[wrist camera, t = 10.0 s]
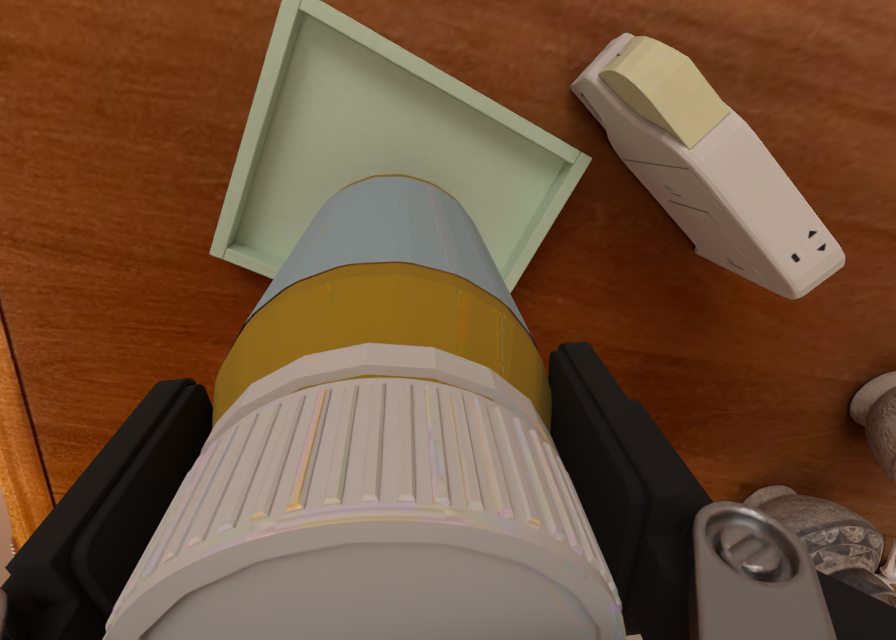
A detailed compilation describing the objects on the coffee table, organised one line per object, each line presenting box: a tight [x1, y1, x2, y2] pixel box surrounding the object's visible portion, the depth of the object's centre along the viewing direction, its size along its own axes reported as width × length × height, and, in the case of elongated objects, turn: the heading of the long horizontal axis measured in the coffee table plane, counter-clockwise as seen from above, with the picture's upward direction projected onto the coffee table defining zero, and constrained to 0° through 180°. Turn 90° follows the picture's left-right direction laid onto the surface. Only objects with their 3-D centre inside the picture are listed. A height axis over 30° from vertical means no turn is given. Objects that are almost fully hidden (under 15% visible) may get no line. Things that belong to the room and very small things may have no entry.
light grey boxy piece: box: [570, 33, 845, 299], centre depth 24 cm, size 11×3×15 cm
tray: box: [210, 0, 592, 293], centre depth 27 cm, size 18×15×2 cm
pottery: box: [743, 371, 896, 608], centre depth 37 cm, size 11×25×12 cm, turn 156°
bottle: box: [103, 174, 626, 640], centre depth 12 cm, size 7×7×15 cm
